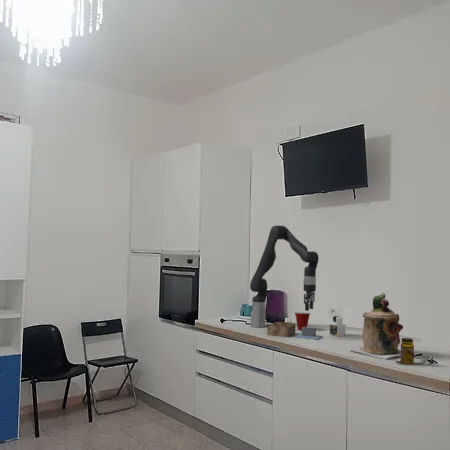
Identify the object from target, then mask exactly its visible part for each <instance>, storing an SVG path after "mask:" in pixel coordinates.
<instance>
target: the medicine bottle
mask: <svg viewBox="0 0 450 450" xmlns="http://www.w3.org/2000/svg"><path fill="white" fill-rule="evenodd" d="M343 320H344V319H343V317H342V316H340V315H334V316H333V317H332V323H329V335H330V334H331V335H330V336H333V335H335V337H344V336H343V335H345V336H346V327H347V326H346V324H345V323H343V322H344V321H343Z"/></svg>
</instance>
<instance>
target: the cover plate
mask: <svg viewBox="0 0 450 450" xmlns="http://www.w3.org/2000/svg"><path fill="white" fill-rule="evenodd" d="M316 329H317V327H310V326H307V327H302V330H301V333H299V334H297V335H296V334H295V336H294V338H295V339H301V338H304V339H303V340H310V339H313V340H312V341H318V340H320V339H322V338H323V335H319V334H317V332H316V331H317V330H316Z"/></svg>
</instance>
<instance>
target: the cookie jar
mask: <svg viewBox="0 0 450 450" xmlns="http://www.w3.org/2000/svg"><path fill="white" fill-rule="evenodd" d="M385 298H386V294H385V292H382V293H381V294H378V295H375V296H373V298H372V310H370V311H368V312H367V311H366V312H363V313H362V318H363V328H362V342H363V346H358V347H353V348H351V347H350V348H349V350H350V352H353V353H359V354H362V355H365V356H369V357H373V358H377V359H381V360H388V359H392V358H395V357H399V358H400V357H401V349H399V345H401V339H400V338H401V337H400V332H401V331H402V330H403V329H404V326H403V324H401V323H399V322H400V315H399V314H398V313H395V312H394V311H393V310H392V309H390V308H389V306H390V303H389V300H388V299H385Z"/></svg>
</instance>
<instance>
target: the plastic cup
mask: <svg viewBox="0 0 450 450" xmlns="http://www.w3.org/2000/svg"><path fill="white" fill-rule="evenodd" d="M294 315H295V321H296V326H297V330H298V331H302V327H308V326H309V319H310V316H311V312H308V311H306V312H304V311H302V312H301V311H295V312H294Z"/></svg>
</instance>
